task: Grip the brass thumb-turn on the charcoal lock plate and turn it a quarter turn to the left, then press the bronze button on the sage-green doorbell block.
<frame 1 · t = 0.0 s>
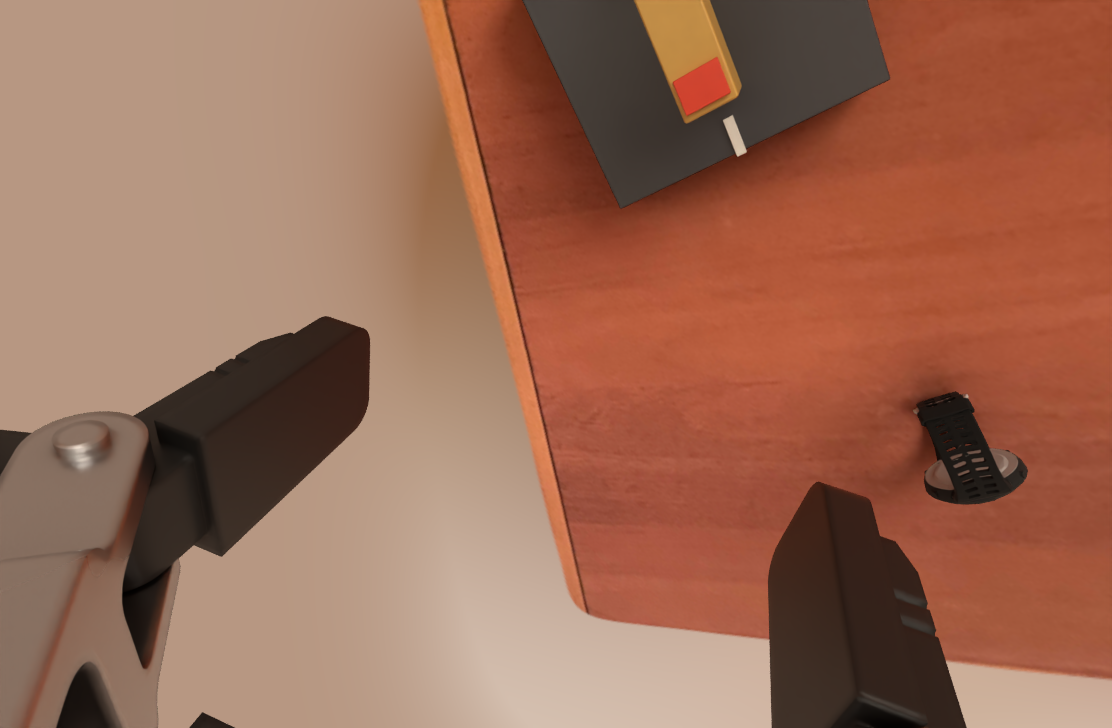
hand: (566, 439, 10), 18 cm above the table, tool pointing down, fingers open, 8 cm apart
smartwatch: (948, 407, 26), on the table
lock plate: (694, 17, 22), on the table
lock knob: (678, 8, 17), point 6 cm above the table, hinge at 0.0°
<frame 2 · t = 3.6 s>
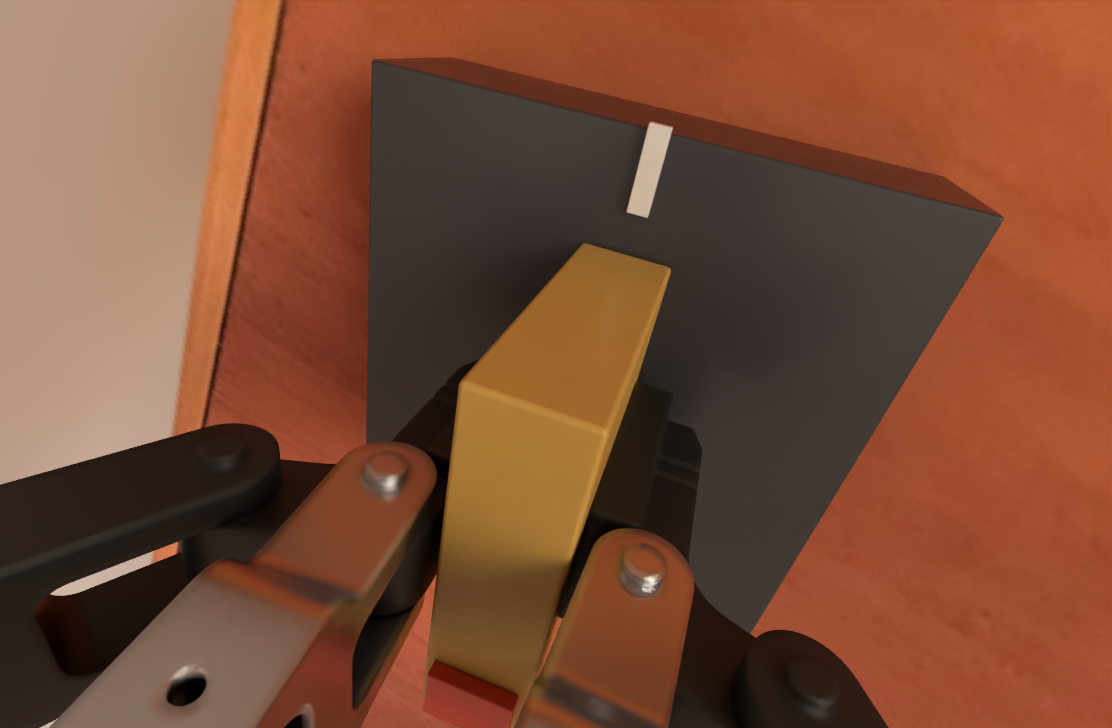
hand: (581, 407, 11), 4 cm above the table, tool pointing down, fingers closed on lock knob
lock plate: (619, 331, 14), on the table
lock knob: (549, 478, 9), point 6 cm above the table, hinge at 0.0°, touching gripper
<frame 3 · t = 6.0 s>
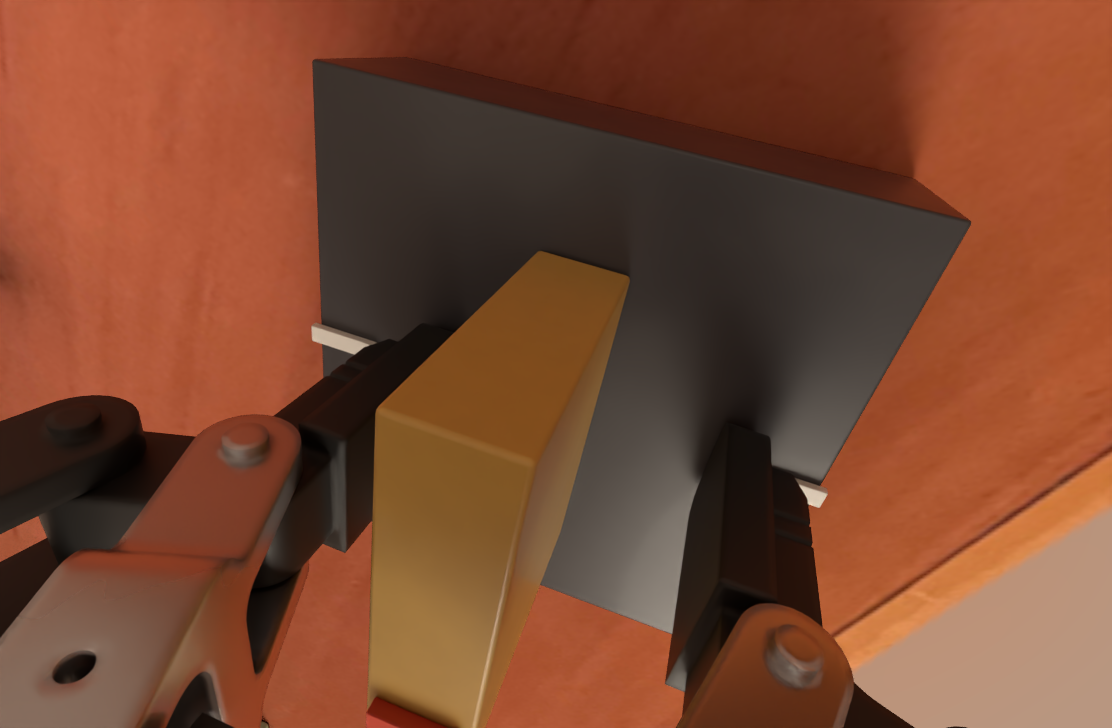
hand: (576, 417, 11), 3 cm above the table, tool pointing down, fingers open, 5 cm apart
lock plate: (588, 339, 13), on the table
lock knob: (501, 499, 9), point 6 cm above the table, hinge at 89.7°
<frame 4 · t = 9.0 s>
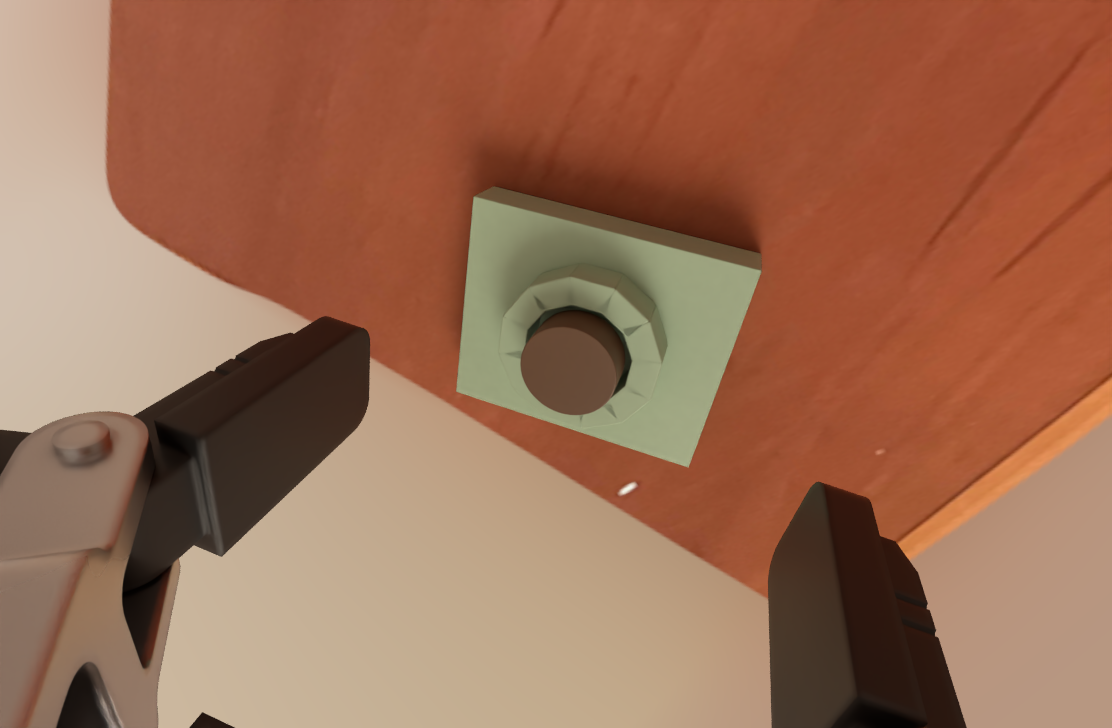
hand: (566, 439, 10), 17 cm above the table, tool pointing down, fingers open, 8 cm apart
bell button: (573, 362, 24), point 4 cm above the table, slide at 0.1 cm
doorbell: (598, 320, 27), on the table
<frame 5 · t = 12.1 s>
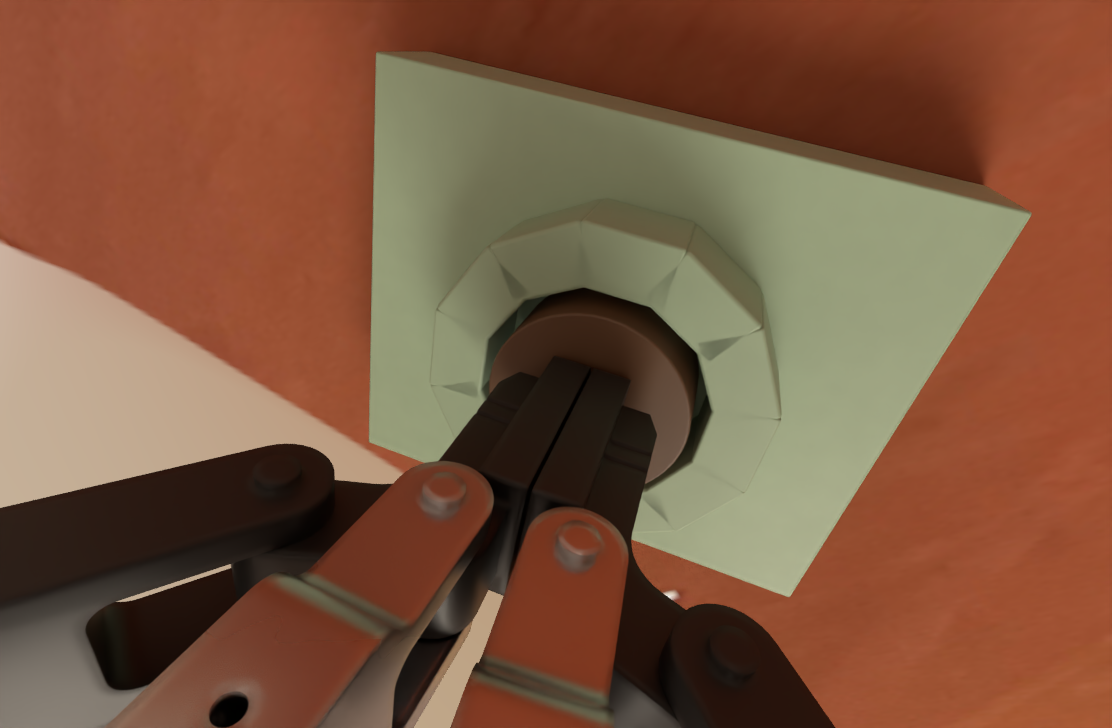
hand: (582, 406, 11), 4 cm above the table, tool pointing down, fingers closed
bell button: (595, 387, 12), point 3 cm above the table, slide at -0.9 cm, touching gripper
doorbell: (627, 320, 15), on the table
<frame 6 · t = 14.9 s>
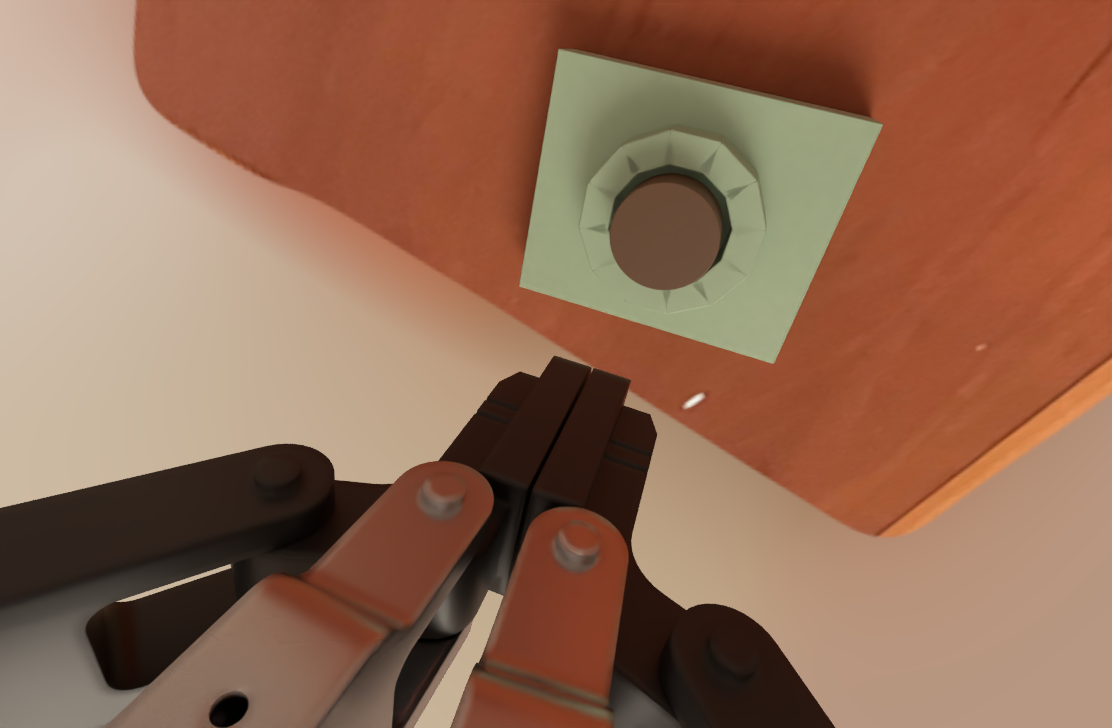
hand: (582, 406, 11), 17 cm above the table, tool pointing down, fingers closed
bell button: (666, 232, 21), point 4 cm above the table, slide at 0.1 cm
doorbell: (679, 205, 25), on the table
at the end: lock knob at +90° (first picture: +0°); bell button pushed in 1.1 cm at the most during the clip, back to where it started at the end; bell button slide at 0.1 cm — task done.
